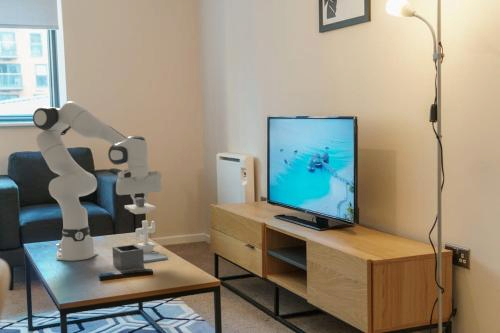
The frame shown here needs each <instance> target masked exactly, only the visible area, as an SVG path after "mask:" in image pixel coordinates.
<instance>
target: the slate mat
mask: <svg viewBox="0 0 500 333" xmlns="http://www.w3.org/2000/svg"><path fill="white" fill-rule="evenodd" d="M143 256H144V264H145V263H153V262H160V261H167V260H169V257H168V256H166V255H164V254H163V253H161V252H158V251H152V252H148V253H143Z"/></svg>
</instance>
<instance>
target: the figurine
mask: <svg viewBox="0 0 500 333" xmlns="http://www.w3.org/2000/svg"><path fill="white" fill-rule="evenodd" d="M141 225H142V227H139V228H136V229H135V240H136V241H139V240H140V235H142V242H139V243H136V245H137V246H138V247H140V248H142V249H143V253H150V252H154V249H155V246H156V244H155V243H154V242H152V241H149V234H153V233H155V232H156V222H155V221H154V220H152V221H151V223H150V226H149V220H142V221H141Z"/></svg>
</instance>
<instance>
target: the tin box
mask: <svg viewBox="0 0 500 333" xmlns="http://www.w3.org/2000/svg"><path fill="white" fill-rule="evenodd" d="M112 262H113V263H112V264H113V266H114V267H115V268H117V269H118V270H119V271H122V270H124V271H130V270H134V269H135V270H136V269H143V268H145V263H144V256H143V249H142V248H140V247H138V245H137V244H134V243H133V244H127V245H126V244H125V245H120V246H119V245H117V246H112ZM129 269H130V270H129ZM122 272H123V271H122Z"/></svg>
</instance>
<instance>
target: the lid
mask: <svg viewBox="0 0 500 333" xmlns="http://www.w3.org/2000/svg"><path fill="white" fill-rule="evenodd" d="M134 198H135V199H136V200H138V204H134V203H133V204H127V205H126V204H125V205H124V209H125V210H128V211H129V212H130V213H132V214H134V215H140V214H141V215H143V214H150V213H152V211H154V210H157V207H156V206H155V205H153V204H150V203H148V202H146V203H144V199H143V198H144V197H141V196H140V197H134Z"/></svg>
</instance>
